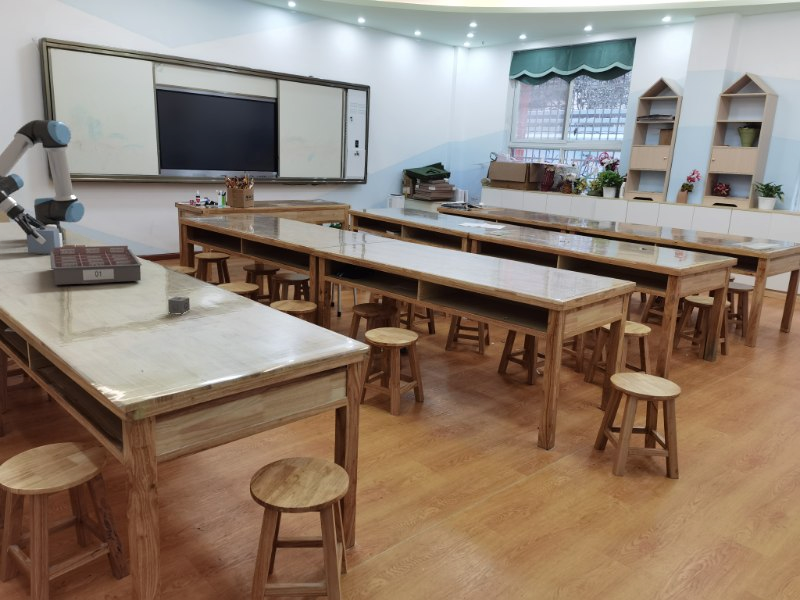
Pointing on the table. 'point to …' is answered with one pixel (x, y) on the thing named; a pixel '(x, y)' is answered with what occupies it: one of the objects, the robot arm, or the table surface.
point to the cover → (47, 246)
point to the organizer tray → (94, 264)
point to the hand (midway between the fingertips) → (48, 240)
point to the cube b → (80, 246)
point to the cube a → (69, 246)
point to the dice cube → (178, 305)
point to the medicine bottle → (54, 226)
